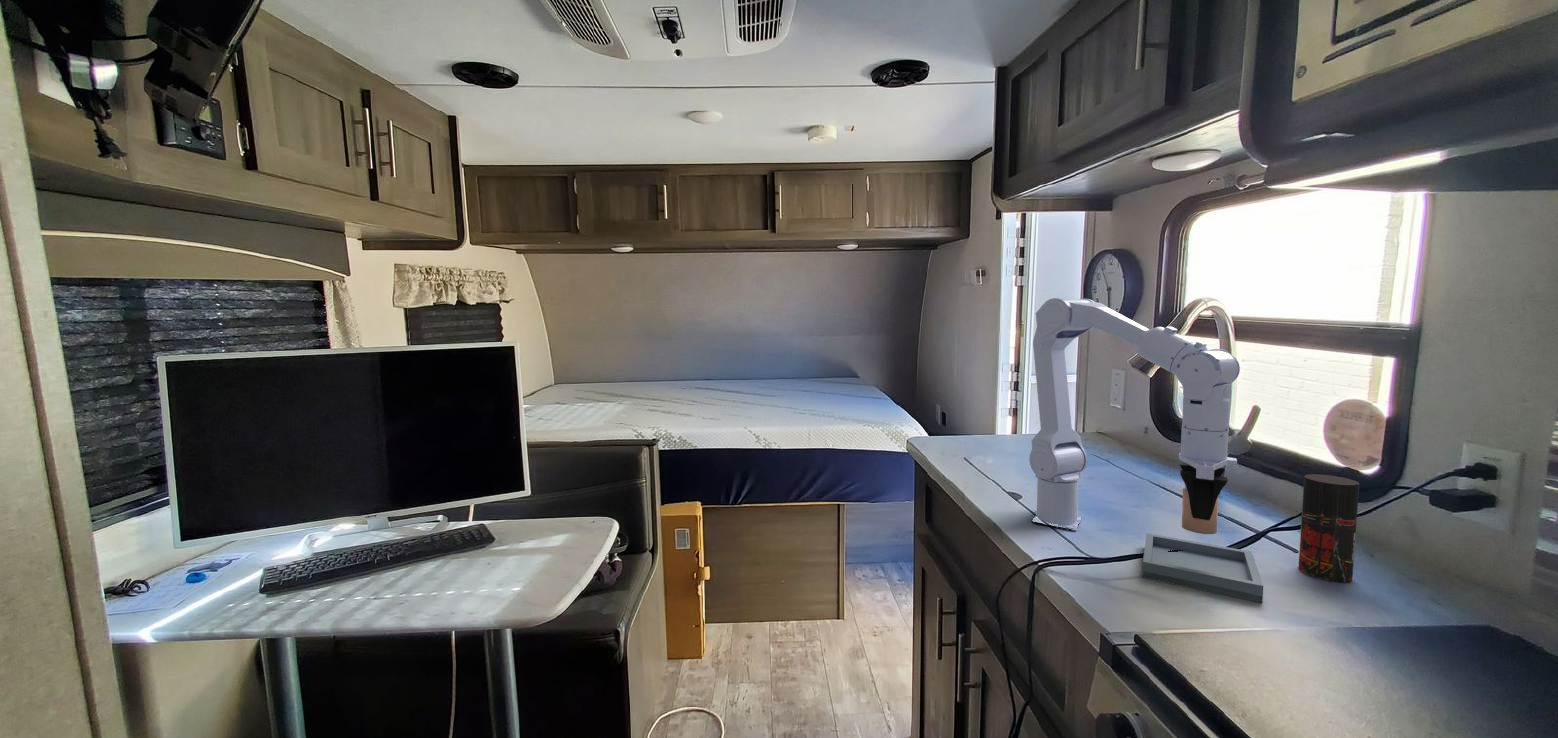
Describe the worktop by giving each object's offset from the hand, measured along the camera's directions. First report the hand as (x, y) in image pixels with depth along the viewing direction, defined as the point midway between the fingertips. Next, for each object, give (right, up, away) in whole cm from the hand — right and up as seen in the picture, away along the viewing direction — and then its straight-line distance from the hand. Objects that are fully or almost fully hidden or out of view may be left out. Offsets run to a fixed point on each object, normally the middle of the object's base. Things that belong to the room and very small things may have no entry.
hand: (1200, 513), depth 85 cm
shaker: (0, -2, 0) cm, 2 cm away
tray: (0, -9, +1) cm, 9 cm away
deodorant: (+19, -9, -1) cm, 21 cm away
